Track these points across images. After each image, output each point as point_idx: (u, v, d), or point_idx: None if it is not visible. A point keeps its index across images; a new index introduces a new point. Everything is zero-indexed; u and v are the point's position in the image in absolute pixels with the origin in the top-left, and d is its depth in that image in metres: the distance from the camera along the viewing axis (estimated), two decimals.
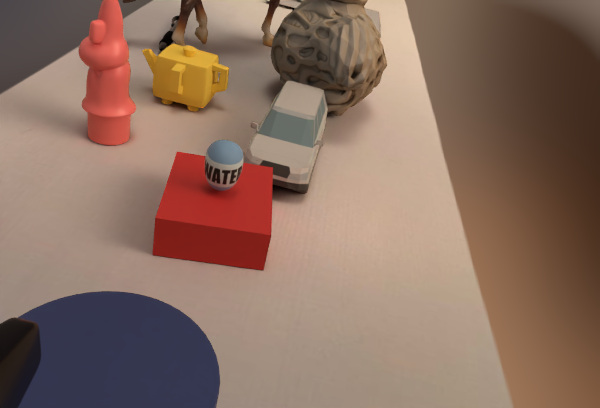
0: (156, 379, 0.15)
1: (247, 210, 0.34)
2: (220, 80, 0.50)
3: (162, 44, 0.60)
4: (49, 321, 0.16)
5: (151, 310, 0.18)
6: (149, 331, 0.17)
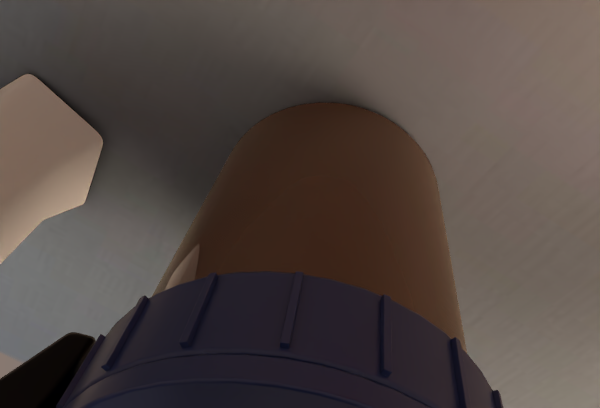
0: None
1: None
2: None
3: None
4: None
5: None
6: None
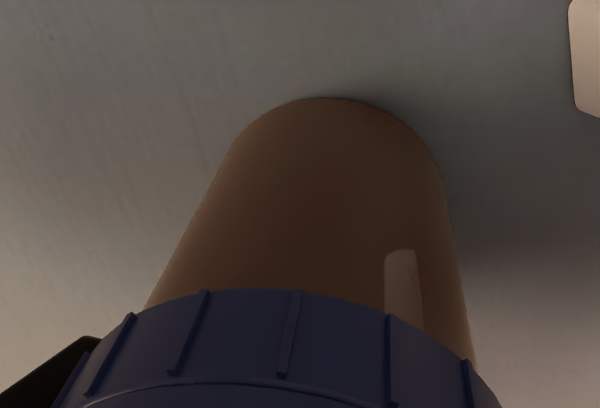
0: None
1: None
2: None
3: None
4: None
5: None
6: None
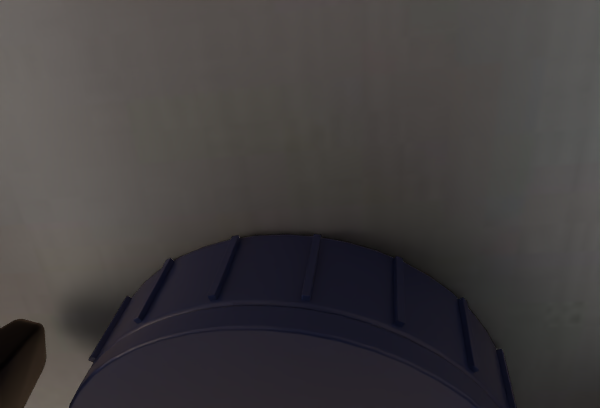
0: None
1: None
2: None
3: None
4: (197, 379, 0.07)
5: None
6: None
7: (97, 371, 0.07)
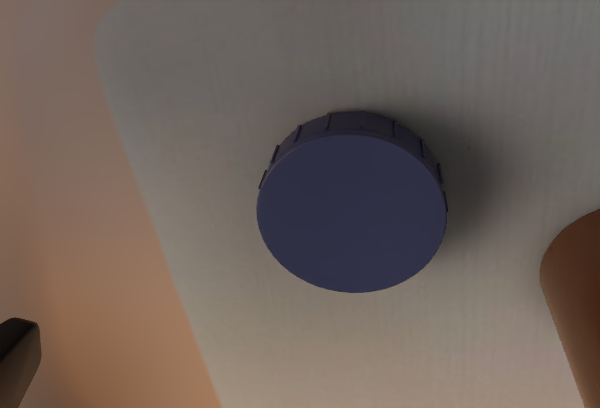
0: (388, 237, 0.19)
1: None
2: None
3: None
4: (320, 160, 0.18)
5: (410, 173, 0.18)
6: (399, 195, 0.18)
7: (280, 159, 0.18)
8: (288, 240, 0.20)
